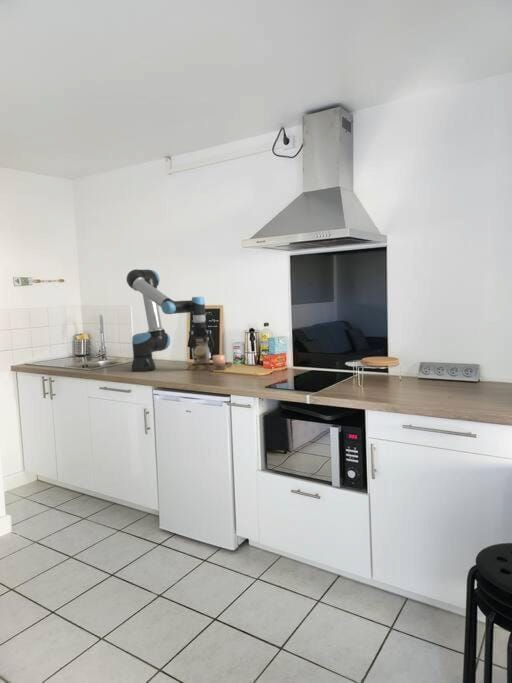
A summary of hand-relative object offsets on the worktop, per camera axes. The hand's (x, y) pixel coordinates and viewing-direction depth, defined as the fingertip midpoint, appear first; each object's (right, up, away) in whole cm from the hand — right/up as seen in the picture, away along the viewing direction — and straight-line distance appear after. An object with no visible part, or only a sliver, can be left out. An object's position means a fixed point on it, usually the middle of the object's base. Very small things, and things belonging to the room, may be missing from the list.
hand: (201, 358), depth 299 cm
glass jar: (0, -3, 0) cm, 3 cm away
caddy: (+6, -7, -1) cm, 9 cm away
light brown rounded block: (+11, -6, -2) cm, 13 cm away
